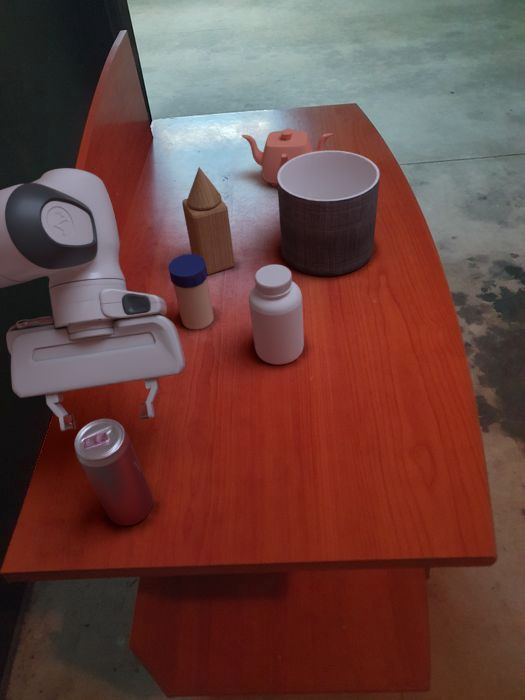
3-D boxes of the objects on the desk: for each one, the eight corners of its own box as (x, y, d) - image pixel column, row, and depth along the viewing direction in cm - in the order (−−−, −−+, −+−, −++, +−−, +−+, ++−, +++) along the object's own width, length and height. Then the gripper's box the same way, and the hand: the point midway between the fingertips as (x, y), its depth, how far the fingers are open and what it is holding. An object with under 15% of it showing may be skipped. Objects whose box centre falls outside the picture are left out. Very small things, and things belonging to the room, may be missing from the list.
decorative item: (236, 267, 108) (223, 169, 94) (203, 277, 107) (186, 180, 93) (223, 249, 113) (209, 153, 99) (192, 259, 111) (173, 163, 97)
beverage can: (104, 495, 75) (69, 427, 65) (148, 480, 77) (120, 410, 66) (112, 535, 71) (76, 468, 61) (158, 518, 72) (130, 449, 62)
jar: (183, 332, 97) (171, 281, 89) (180, 311, 101) (168, 260, 93) (216, 326, 97) (207, 274, 89) (211, 305, 101) (202, 254, 93)
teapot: (333, 177, 130) (334, 130, 122) (285, 201, 124) (283, 153, 116) (291, 156, 138) (289, 111, 130) (244, 178, 132) (240, 132, 125)
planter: (287, 222, 118) (283, 150, 107) (374, 224, 115) (380, 150, 104) (275, 275, 106) (270, 200, 95) (372, 279, 103) (379, 202, 92)
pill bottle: (248, 338, 94) (239, 265, 84) (294, 326, 96) (291, 253, 85) (263, 371, 89) (255, 298, 78) (311, 358, 90) (310, 284, 80)
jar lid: (172, 291, 90) (170, 279, 88) (169, 269, 94) (166, 257, 93) (209, 284, 91) (207, 272, 89) (204, 262, 95) (202, 251, 93)
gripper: (-8, 321, 65) (10, 441, 65) (172, 295, 66) (189, 414, 66) (14, 323, 71) (30, 433, 71) (177, 300, 72) (194, 408, 72)
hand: (108, 424), depth 68 cm, fingers open, 8 cm apart
